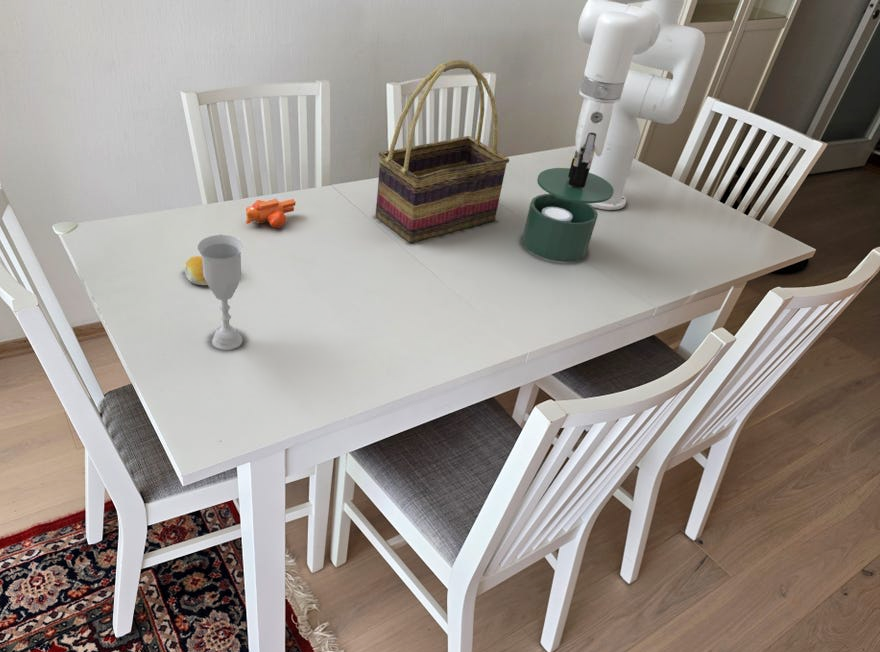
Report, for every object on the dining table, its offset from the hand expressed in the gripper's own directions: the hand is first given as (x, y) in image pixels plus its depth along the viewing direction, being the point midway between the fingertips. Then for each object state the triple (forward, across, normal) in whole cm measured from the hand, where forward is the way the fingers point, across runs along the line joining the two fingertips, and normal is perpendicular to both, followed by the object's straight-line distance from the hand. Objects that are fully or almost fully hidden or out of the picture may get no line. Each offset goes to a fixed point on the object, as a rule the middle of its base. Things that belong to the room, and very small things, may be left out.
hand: (576, 181), depth 136 cm
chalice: (+18, -48, +55) cm, 75 cm away
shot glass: (+18, +8, +1) cm, 20 cm away
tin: (+19, +7, 0) cm, 20 cm away
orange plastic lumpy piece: (+19, -5, +62) cm, 65 cm away
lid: (+1, 0, 0) cm, 1 cm away
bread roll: (+18, -30, +66) cm, 75 cm away
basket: (+19, +10, +28) cm, 35 cm away
